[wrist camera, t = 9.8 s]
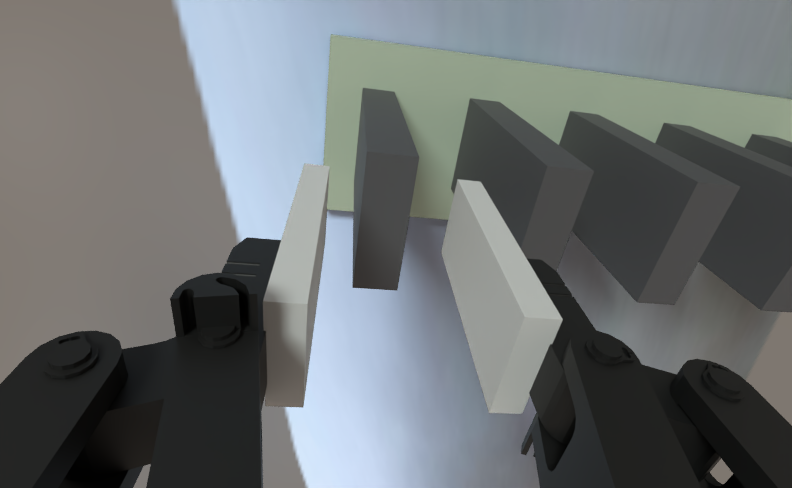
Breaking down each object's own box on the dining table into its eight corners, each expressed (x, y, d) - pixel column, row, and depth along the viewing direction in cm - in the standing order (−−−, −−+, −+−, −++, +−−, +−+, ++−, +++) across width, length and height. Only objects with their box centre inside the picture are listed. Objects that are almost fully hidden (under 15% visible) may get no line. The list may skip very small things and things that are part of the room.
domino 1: (362, 87, 22) (366, 151, 13) (394, 91, 22) (419, 157, 13) (353, 181, 24) (352, 287, 15) (382, 184, 24) (397, 290, 16)
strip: (331, 34, 21) (330, 35, 20) (814, 102, 25) (823, 104, 24) (321, 204, 25) (321, 208, 25) (732, 240, 29) (739, 245, 28)
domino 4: (664, 122, 24) (839, 197, 15) (690, 125, 24) (877, 201, 15) (627, 205, 26) (760, 310, 18) (651, 207, 26) (795, 312, 18)
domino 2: (470, 98, 22) (547, 166, 14) (499, 101, 22) (594, 170, 14) (450, 188, 25) (506, 294, 16) (477, 191, 25) (546, 296, 16)
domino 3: (570, 110, 23) (698, 182, 14) (598, 114, 23) (740, 186, 15) (541, 197, 25) (637, 302, 17) (567, 199, 26) (673, 304, 17)
